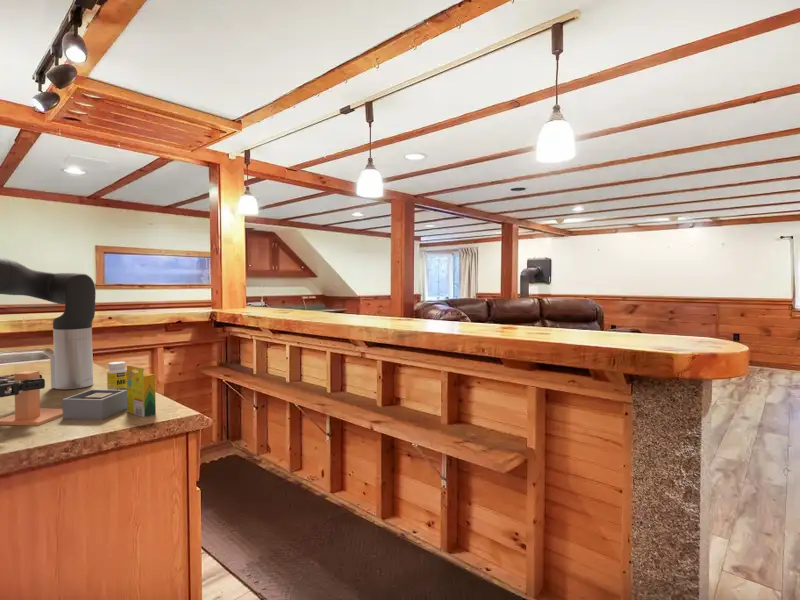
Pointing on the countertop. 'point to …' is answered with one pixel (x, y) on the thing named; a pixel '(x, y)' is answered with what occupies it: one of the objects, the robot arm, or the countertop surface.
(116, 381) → the supplement bottle
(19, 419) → the lid
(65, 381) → the robot arm
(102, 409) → the tub
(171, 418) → the countertop surface
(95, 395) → the walnut block
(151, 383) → the crayon box
